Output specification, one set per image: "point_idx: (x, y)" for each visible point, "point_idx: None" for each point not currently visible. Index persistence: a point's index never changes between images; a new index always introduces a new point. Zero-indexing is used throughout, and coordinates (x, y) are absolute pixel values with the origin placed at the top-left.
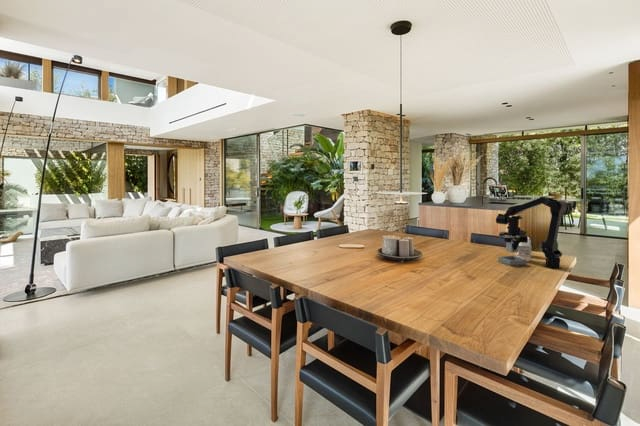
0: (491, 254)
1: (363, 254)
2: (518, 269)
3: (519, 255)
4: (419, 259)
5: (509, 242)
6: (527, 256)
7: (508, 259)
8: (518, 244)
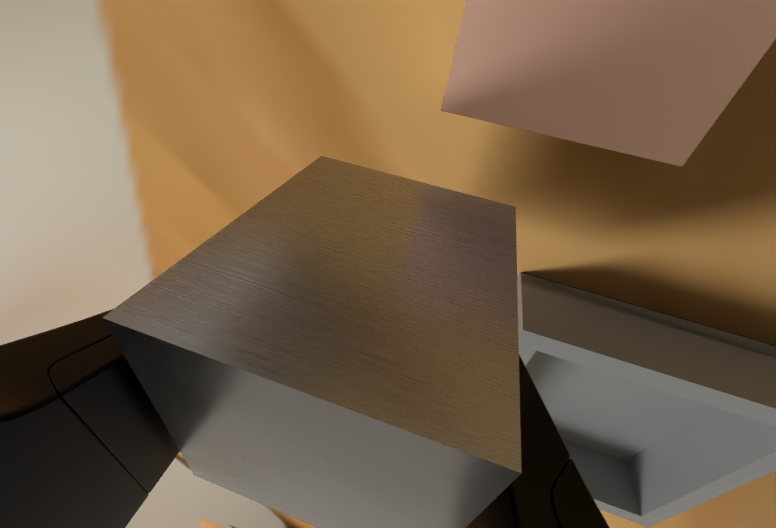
0: (161, 189)
1: (206, 524)
2: (750, 501)
3: (520, 125)
4: (282, 517)
5: (282, 503)
6: (758, 50)
7: (601, 503)
8: (589, 511)
